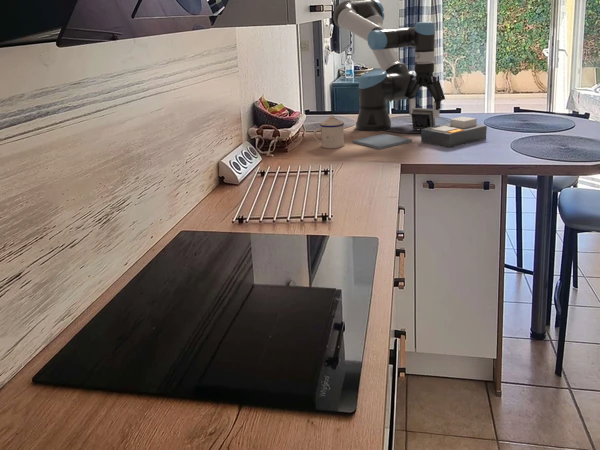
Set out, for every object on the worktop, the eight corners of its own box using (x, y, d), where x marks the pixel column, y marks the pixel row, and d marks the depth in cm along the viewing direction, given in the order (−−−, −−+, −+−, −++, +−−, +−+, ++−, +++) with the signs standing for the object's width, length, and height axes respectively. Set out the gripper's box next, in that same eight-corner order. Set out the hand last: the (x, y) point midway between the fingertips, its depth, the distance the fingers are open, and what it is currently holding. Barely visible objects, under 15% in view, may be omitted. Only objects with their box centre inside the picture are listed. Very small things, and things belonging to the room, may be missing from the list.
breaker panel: (421, 142, 220) (421, 128, 218) (457, 133, 230) (458, 120, 228) (448, 148, 208) (449, 133, 207) (486, 138, 218) (486, 124, 217)
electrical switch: (436, 129, 239) (435, 107, 235) (431, 133, 235) (431, 111, 231) (414, 128, 244) (414, 106, 240) (409, 132, 240) (409, 110, 236)
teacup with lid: (341, 142, 227) (340, 112, 223) (347, 147, 219) (346, 116, 215) (311, 145, 226) (310, 115, 221) (316, 150, 217) (315, 119, 213)
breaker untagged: (450, 126, 221) (450, 119, 220) (462, 123, 224) (462, 116, 223) (463, 128, 215) (464, 121, 214) (476, 125, 219) (476, 118, 218)
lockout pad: (352, 142, 226) (352, 140, 225) (384, 136, 234) (383, 133, 233) (379, 149, 213) (379, 146, 213) (411, 141, 221) (411, 139, 221)
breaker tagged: (431, 136, 217) (431, 128, 216) (444, 133, 220) (444, 125, 219) (444, 138, 211) (445, 131, 210) (457, 135, 215) (458, 128, 214)
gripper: (396, 62, 238) (396, 114, 245) (441, 64, 218) (440, 120, 225) (409, 60, 242) (409, 111, 249) (455, 62, 222) (453, 117, 229)
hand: (424, 116), depth 237 cm, fingers open, 13 cm apart
